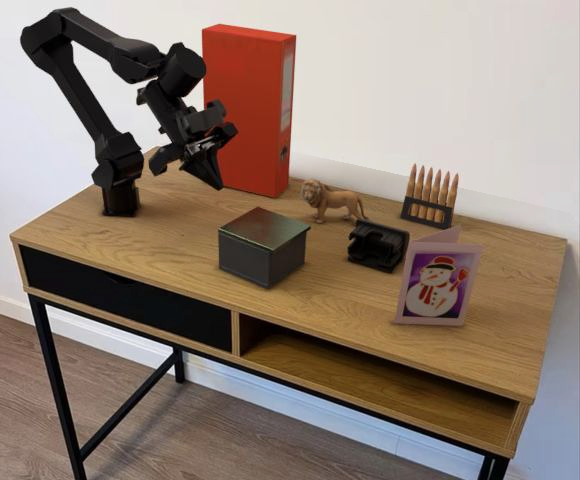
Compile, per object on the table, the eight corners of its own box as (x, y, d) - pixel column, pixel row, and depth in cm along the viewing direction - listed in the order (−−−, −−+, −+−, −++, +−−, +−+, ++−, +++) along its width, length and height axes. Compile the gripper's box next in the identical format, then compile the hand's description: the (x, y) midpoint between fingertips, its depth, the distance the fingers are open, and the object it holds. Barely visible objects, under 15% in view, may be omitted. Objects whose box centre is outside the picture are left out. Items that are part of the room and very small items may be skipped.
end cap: (406, 258, 122) (412, 226, 118) (393, 274, 117) (399, 241, 113) (358, 244, 125) (362, 213, 121) (344, 259, 120) (347, 227, 116)
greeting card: (394, 326, 104) (409, 244, 95) (389, 301, 110) (402, 222, 101) (463, 328, 104) (485, 247, 95) (454, 303, 110) (473, 225, 101)
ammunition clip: (400, 218, 136) (409, 163, 129) (403, 214, 137) (412, 160, 130) (448, 230, 132) (460, 175, 125) (451, 227, 134) (463, 172, 126)
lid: (310, 229, 114) (311, 225, 113) (273, 254, 106) (273, 249, 106) (257, 210, 119) (257, 206, 118) (217, 232, 111) (217, 228, 111)
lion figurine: (300, 226, 131) (302, 184, 125) (298, 214, 135) (300, 174, 129) (370, 227, 132) (376, 186, 126) (366, 215, 136) (371, 175, 131)
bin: (304, 263, 119) (307, 228, 114) (268, 289, 111) (269, 252, 106) (257, 245, 123) (257, 210, 119) (218, 268, 116) (218, 232, 111)
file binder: (222, 171, 152) (220, 22, 132) (288, 185, 147) (296, 34, 127) (205, 182, 146) (200, 29, 126) (274, 198, 141) (279, 41, 121)
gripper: (155, 97, 99) (211, 183, 102) (230, 74, 112) (278, 152, 114) (124, 135, 108) (177, 214, 110) (197, 110, 120) (243, 181, 122)
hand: (221, 189), depth 114 cm, fingers closed
